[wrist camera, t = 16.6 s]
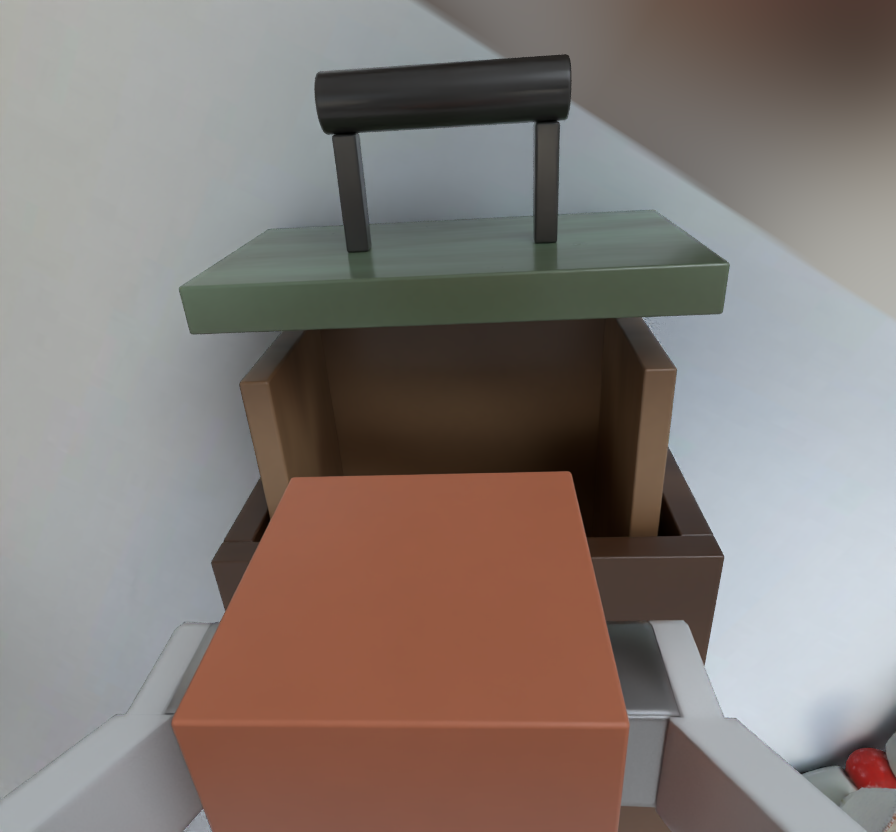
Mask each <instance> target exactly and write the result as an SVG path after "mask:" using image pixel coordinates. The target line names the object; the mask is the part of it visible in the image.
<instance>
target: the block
mask: <svg viewBox="0 0 896 832" xmlns="http://www.w3.org/2000/svg"><path fill="white" fill-rule="evenodd" d="M171 726H172V729H173V731H174V734H175V737H176V739H177V742H178V744H179V747H180V749H181V752H182V755H183V757H184V760H185V762H186V765H187V768H188V770H189V773H190V775H191V778H192V781H193V783H194V786H195V788H196V791H197V793H198V796H199V799H200V801H201V804H202V806H203V809H204V812H205V814H206V817H207V819H208V822H209V824H210V827H211V830H212V832H618V826H619V817H620V808H621V799H622V790H623V781H624V772H625V764H626V755H627V746H628V737H629V728H630V723H629V719H628V714H627V710H626V706H625V701H624V697H623V693H622V689H621V684H620V680H619V676H618V671H617V667H616V663H615V659H614V654H613V650H612V646H611V641H610V637H609V633H608V628H607V624H606V620H605V616H604V611H603V607H602V603H601V598H600V594H599V590H598V586H597V581H596V577H595V573H594V568H593V564H592V560H591V556H590V551H589V547H588V543H587V538H586V534H585V530H584V525H583V521H582V517H581V513H580V508H579V504H578V500H577V495H576V491H575V487H574V483H573V478H572V474H571V472H568V471H558V472H512V473H466V474H420V475H374V476H328V477H293V478H291V480H290V482H289V484H288V486H287V488H286V490H285V492H284V494H283V496H282V498H281V500H280V502H279V504H278V506H277V508H276V510H275V512H274V514H273V516H272V518H271V520H270V522H269V524H268V526H267V528H266V530H265V532H264V534H263V536H262V538H261V541H260V543H259V545H258V547H257V549H256V551H255V553H254V555H253V557H252V559H251V561H250V563H249V565H248V567H247V569H246V571H245V573H244V575H243V577H242V579H241V581H240V583H239V585H238V587H237V589H236V591H235V593H234V595H233V597H232V599H231V601H230V603H229V605H228V607H227V609H226V611H225V613H224V615H223V617H222V619H221V621H220V623H219V625H218V627H217V629H216V631H215V633H214V636H213V638H212V640H211V642H210V644H209V646H208V648H207V650H206V652H205V654H204V656H203V658H202V660H201V662H200V664H199V666H198V668H197V670H196V672H195V674H194V676H193V678H192V680H191V682H190V684H189V686H188V688H187V690H186V692H185V694H184V696H183V698H182V700H181V702H180V704H179V706H178V708H177V710H176V712H175V714H174V716H173V718H172V722H171Z"/></svg>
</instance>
